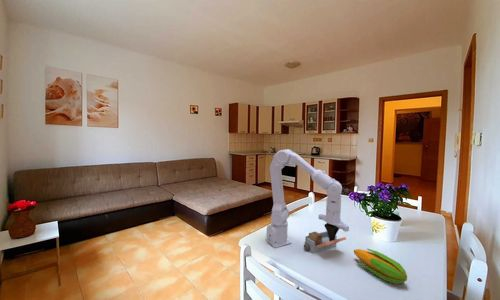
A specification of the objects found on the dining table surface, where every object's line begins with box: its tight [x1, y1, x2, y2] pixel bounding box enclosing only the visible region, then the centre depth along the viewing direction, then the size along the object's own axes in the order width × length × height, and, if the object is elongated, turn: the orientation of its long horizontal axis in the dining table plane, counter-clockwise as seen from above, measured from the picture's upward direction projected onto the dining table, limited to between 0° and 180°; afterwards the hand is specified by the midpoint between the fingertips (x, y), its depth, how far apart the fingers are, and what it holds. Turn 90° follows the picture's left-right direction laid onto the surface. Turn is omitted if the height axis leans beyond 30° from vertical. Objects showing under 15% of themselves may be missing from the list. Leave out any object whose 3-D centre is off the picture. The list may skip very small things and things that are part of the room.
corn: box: [353, 248, 408, 285], centre depth 81 cm, size 7×8×20 cm
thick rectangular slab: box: [317, 236, 347, 248], centre depth 93 cm, size 11×1×6 cm
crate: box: [308, 231, 322, 246], centre depth 96 cm, size 4×4×4 cm
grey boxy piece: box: [303, 230, 338, 254], centre depth 98 cm, size 16×5×6 cm, turn 117°
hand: (331, 241), depth 93 cm, fingers closed, pressing on thick rectangular slab
